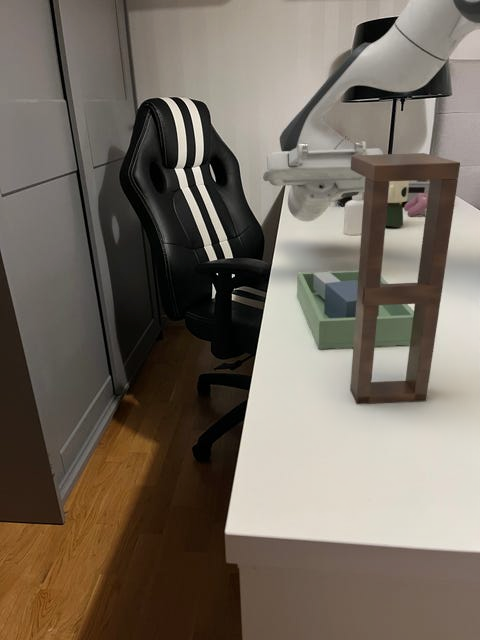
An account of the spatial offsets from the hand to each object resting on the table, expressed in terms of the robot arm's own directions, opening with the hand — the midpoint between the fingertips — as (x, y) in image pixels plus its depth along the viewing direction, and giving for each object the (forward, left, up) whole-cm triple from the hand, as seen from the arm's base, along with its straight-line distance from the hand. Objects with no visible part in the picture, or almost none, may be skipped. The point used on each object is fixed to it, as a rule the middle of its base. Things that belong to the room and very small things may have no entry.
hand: (332, 146), depth 81 cm
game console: (-35, -79, -25) cm, 90 cm away
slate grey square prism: (+1, +12, -24) cm, 27 cm away
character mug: (-26, -45, -25) cm, 57 cm away
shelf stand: (0, +33, -24) cm, 41 cm away
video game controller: (-38, -59, -25) cm, 74 cm away
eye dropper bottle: (-15, -39, -25) cm, 48 cm away
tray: (-1, +13, -24) cm, 28 cm away
